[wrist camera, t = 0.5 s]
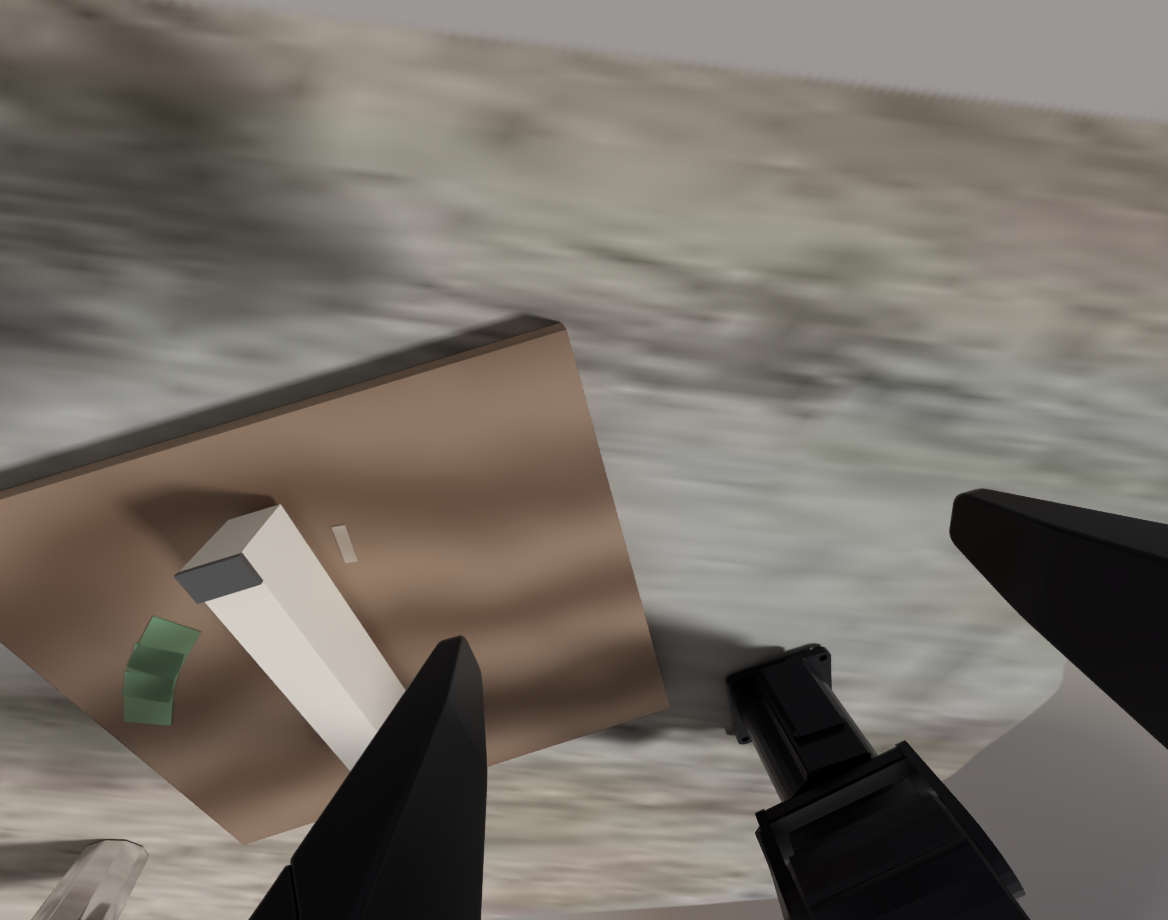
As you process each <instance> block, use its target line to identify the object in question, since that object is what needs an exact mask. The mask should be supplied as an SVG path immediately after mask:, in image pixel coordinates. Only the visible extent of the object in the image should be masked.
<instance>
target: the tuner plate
mask: <svg viewBox="0 0 1168 920" xmlns="http://www.w3.org/2000/svg"><path fill="white" fill-rule="evenodd" d="M279 504H281V506H282V507H283V509H284V510H285V512H286V513H287V514H288V516H289V517H290V519H291V520H292V522H293V523H294V525H295V526H296V528H297V529H298V531H299V532H300V534H301V535H302V537H303V538H304V540H305V541H306V543H307V544H308V546H309V547H310V549H311V550H312V552H313V553H314V555H315V556H316V558H317V559H318V561H319V562H320V564H321V565H322V567H323V568H324V570H325V571H326V573H327V574H328V576H329V577H330V579H331V580H332V582H333V583H334V585H335V586H336V588H337V589H338V591H339V592H340V593H341V595H342V596H343V598H344V599H345V601H346V602H347V604H348V605H349V607H350V608H351V610H352V611H353V613H354V614H355V616H356V617H357V619H358V620H359V622H360V623H361V625H362V626H363V628H364V629H365V631H366V632H367V634H368V635H369V637H370V638H371V640H372V641H373V643H374V644H375V646H376V647H377V649H378V650H379V652H380V653H381V655H382V656H383V658H384V659H385V661H386V662H387V664H388V665H389V667H390V668H391V670H392V671H393V673H394V674H395V675H396V677H397V678H398V680H399V681H400V683H401V684H402V686H403V687H404V689H405V690H406V689H407V687H408V686H409V685H410V683H411V682H412V680H413V679H414V677H415V676H416V674H417V673H418V671H419V670H420V668H421V667H422V665H423V664H424V663H425V661H426V660H427V658H428V657H429V655H430V654H431V652H432V651H433V649H434V648H435V646H436V645H437V644H438V643H439V642H440V641H441V640H444V639H447V638H451V637H455V636H458V635H462V636H464V637H465V638H466V639H467V641H468V643H469V645H470V648H471V650H472V652H473V654H474V656H475V658H476V660H477V662H478V665H479V667H480V670H481V674H482V683H483V700H484V717H485V734H486V751H487V767H488V766H491V765H494V764H497V763H500V762H504V761H507V760H510V759H513V758H516V757H519V756H522V755H525V754H529V753H532V752H535V751H538V750H541V749H544V748H547V747H550V746H553V745H557V744H560V743H563V742H566V741H569V740H572V739H575V738H578V737H582V736H585V735H588V734H591V733H594V732H597V731H600V730H603V729H607V728H610V727H613V726H616V725H619V724H622V723H625V722H628V721H631V720H635V719H638V718H641V717H644V716H647V715H650V714H653V713H656V712H660V711H663V710H666V709H669V708H670V705H669V702H668V698H667V694H666V691H665V687H664V683H663V680H662V676H661V672H660V669H659V665H658V661H657V658H656V654H655V651H654V647H653V643H652V640H651V636H650V632H649V629H648V625H647V621H646V618H645V614H644V610H643V607H642V603H641V600H640V596H639V592H638V589H637V585H636V581H635V578H634V574H633V570H632V567H631V563H630V559H629V556H628V552H627V548H626V545H625V541H624V538H623V534H622V530H621V527H620V523H619V519H618V516H617V512H616V508H615V505H614V501H613V497H612V494H611V490H610V487H609V483H608V479H607V476H606V472H605V468H604V465H603V461H602V457H601V454H600V450H599V446H598V443H597V439H596V436H595V432H594V428H593V425H592V421H591V417H590V414H589V410H588V406H587V403H586V399H585V395H584V392H583V388H582V385H581V381H580V377H579V374H578V370H577V366H576V363H575V359H574V355H573V352H572V348H571V344H570V341H569V337H568V334H567V330H566V328H565V327H564V325H563V323H562V322H561V323H558V324H554V325H551V326H548V327H544V328H541V329H538V330H534V331H531V332H528V333H524V334H521V335H518V336H514V337H511V338H508V339H504V340H501V341H498V342H494V343H491V344H488V345H484V346H481V347H478V348H474V349H471V350H468V351H465V352H461V353H458V354H455V355H451V356H448V357H445V358H441V359H438V360H435V361H431V362H428V363H425V364H421V365H418V366H415V367H411V368H408V369H405V370H401V371H398V372H395V373H391V374H388V375H385V376H381V377H378V378H375V379H371V380H368V381H365V382H361V383H358V384H355V385H351V386H348V387H345V388H341V389H338V390H335V391H331V392H328V393H325V394H321V395H318V396H315V397H311V398H308V399H305V400H301V401H298V402H295V403H291V404H288V405H285V406H281V407H278V408H275V409H271V410H268V411H265V412H261V413H258V414H255V415H251V416H248V417H245V418H241V419H238V420H235V421H231V422H228V423H225V424H221V425H218V426H215V427H211V428H208V429H205V430H201V431H198V432H195V433H191V434H188V435H185V436H181V437H178V438H175V439H171V440H168V441H165V442H161V443H158V444H155V445H151V446H148V447H145V448H141V449H138V450H135V451H131V452H128V453H125V454H121V455H118V456H115V457H111V458H108V459H105V460H101V461H98V462H95V463H91V464H88V465H85V466H81V467H78V468H75V469H71V470H68V471H65V472H61V473H58V474H55V475H51V476H48V477H45V478H41V479H38V480H35V481H32V482H28V483H25V484H22V485H18V486H15V487H12V488H8V489H5V490H2V491H0V642H1V643H2V644H3V645H4V646H6V647H7V648H8V649H9V650H10V651H12V652H13V653H14V654H15V655H16V656H18V657H19V658H20V659H21V660H22V661H24V662H25V663H26V664H27V665H28V666H30V667H31V668H32V669H33V670H34V671H36V672H37V673H38V674H39V675H40V676H42V677H43V678H44V679H45V680H46V681H48V682H49V683H50V684H51V685H52V686H54V687H55V688H56V689H57V690H58V691H60V692H61V693H62V694H63V695H64V696H66V697H67V698H68V699H69V700H70V701H72V702H73V703H74V704H75V705H76V706H78V707H79V708H80V709H81V710H82V711H84V712H85V713H86V714H87V715H88V716H90V717H91V718H92V719H93V720H94V721H96V722H97V723H98V724H99V725H100V726H102V727H103V728H104V729H105V730H106V731H108V732H109V733H110V734H111V735H112V736H114V737H115V738H116V739H117V740H118V741H120V742H121V743H122V744H123V745H124V746H126V747H127V748H128V749H129V750H130V751H132V752H133V753H134V754H135V755H136V756H138V757H139V758H140V759H141V760H142V761H144V762H145V763H146V764H147V765H148V766H150V767H151V768H152V769H153V770H154V771H156V772H157V773H158V774H159V775H160V776H162V777H163V778H164V779H165V780H166V781H168V782H169V783H170V784H171V785H172V786H174V787H175V788H176V789H177V790H178V791H180V792H181V793H182V794H183V795H184V796H186V797H187V798H188V799H189V800H190V801H192V802H193V803H194V804H195V805H196V806H198V807H199V808H200V809H201V810H202V811H204V812H205V813H206V814H207V815H208V816H210V817H211V818H212V819H213V820H214V821H216V822H217V823H218V824H219V825H220V826H222V827H223V828H224V829H225V830H226V831H228V832H229V833H230V834H231V835H232V836H234V837H235V838H236V839H237V840H238V841H240V842H241V843H242V844H243V845H245V844H248V843H251V842H254V841H257V840H260V839H263V838H266V837H270V836H273V835H276V834H279V833H282V832H285V831H288V830H291V829H295V828H298V827H301V826H304V825H307V824H310V823H313V822H316V821H317V819H318V818H319V816H320V815H321V814H322V812H323V811H324V809H325V808H326V806H327V805H328V803H329V802H330V800H331V799H332V797H333V796H334V794H335V793H336V792H337V790H338V789H339V787H340V786H341V784H342V783H343V781H344V780H345V778H346V777H347V775H348V774H349V772H350V770H349V769H348V768H347V767H346V766H345V764H344V763H343V762H342V761H341V760H340V759H339V757H338V756H337V755H336V754H335V753H334V752H333V751H332V749H331V748H330V747H329V746H328V745H327V744H326V742H325V741H324V740H323V739H322V738H321V737H320V735H319V734H318V733H317V732H316V731H315V730H314V728H313V727H312V726H311V725H310V724H309V723H308V721H307V720H306V719H305V718H304V717H303V716H302V715H301V713H300V712H299V711H298V710H297V709H296V708H295V706H294V705H293V704H292V703H291V702H290V701H289V699H288V698H287V697H286V696H285V695H284V694H283V692H282V691H281V690H280V689H279V688H278V687H277V685H276V684H275V683H274V682H273V681H272V680H271V679H270V677H269V676H268V675H267V674H266V673H265V672H264V670H263V669H262V668H261V667H260V666H259V665H258V663H257V662H256V661H255V660H254V659H253V658H252V656H251V655H250V654H249V653H248V652H247V651H246V649H245V648H244V647H243V646H242V645H241V644H240V643H239V641H238V640H237V639H236V638H235V637H234V636H233V634H232V633H231V632H230V631H229V630H228V629H227V627H226V626H225V625H224V624H223V623H222V622H221V620H220V619H219V618H218V617H217V616H216V615H215V613H214V612H213V611H212V610H211V609H210V608H209V607H208V605H207V604H206V603H205V602H203V603H200V604H197V603H196V602H195V601H194V600H193V599H192V597H191V596H190V595H189V594H188V593H187V592H186V591H185V589H184V588H183V587H182V586H181V585H180V584H179V583H178V581H177V580H176V579H175V578H174V577H173V576H174V575H175V574H176V573H177V572H179V571H180V570H181V569H182V568H183V567H184V566H185V565H186V564H187V563H188V562H189V561H190V560H191V559H192V558H193V556H194V555H195V554H196V553H197V552H198V551H199V550H200V549H201V548H202V547H203V546H204V545H205V544H206V543H207V542H208V541H209V540H210V539H211V538H212V537H213V535H214V534H215V533H216V532H217V531H218V530H219V529H220V528H221V527H222V526H223V525H224V524H225V523H226V522H227V521H228V520H230V519H233V518H237V517H240V516H243V515H246V514H250V513H253V512H256V511H260V510H263V509H266V508H269V507H273V506H276V505H279Z"/></svg>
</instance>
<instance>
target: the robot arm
mask: <svg viewBox="0 0 1168 920" xmlns="http://www.w3.org/2000/svg"><path fill="white" fill-rule="evenodd" d="M949 533H950V537H951V540H952V542H953V543H954V545H955V546H956V547H957V548H958V549H959V550H960V551H961V552H962V554H963V555H964V556H965V557H966V558H967V559H968V560H969V561H970V562H971V563H972V564H973V565H974V566H975V568H976V569H977V570H978V571H979V572H980V573H981V574H982V575H983V576H984V577H985V578H986V579H987V581H988V582H989V583H990V584H991V585H992V586H993V587H994V588H995V589H996V590H997V591H998V592H999V593H1000V595H1001V596H1002V597H1003V598H1004V599H1005V600H1006V601H1007V602H1008V603H1009V604H1010V605H1011V606H1012V607H1013V608H1014V609H1015V610H1016V611H1017V612H1018V614H1019V615H1020V616H1022V617H1023V618H1024V619H1025V620H1026V621H1027V622H1028V623H1029V624H1030V625H1031V626H1032V627H1033V628H1034V629H1035V630H1036V631H1038V632H1039V633H1040V634H1041V635H1042V636H1043V637H1044V638H1045V639H1046V640H1047V641H1049V642H1050V643H1051V644H1052V645H1053V646H1054V647H1055V648H1056V649H1057V650H1058V651H1060V652H1061V653H1062V654H1063V655H1064V656H1065V657H1066V658H1067V659H1068V660H1069V661H1071V662H1072V663H1073V664H1074V665H1075V666H1076V667H1077V668H1079V670H1080V671H1082V672H1083V673H1084V674H1085V675H1086V676H1087V677H1088V678H1089V679H1090V680H1091V681H1093V682H1094V683H1095V684H1096V685H1097V686H1098V687H1099V688H1100V689H1101V690H1102V691H1104V692H1105V693H1106V694H1107V695H1108V696H1109V697H1110V698H1111V699H1112V700H1113V701H1115V702H1116V703H1117V704H1118V705H1119V706H1120V707H1121V708H1122V709H1123V710H1125V711H1126V712H1127V713H1128V714H1129V715H1130V716H1131V717H1132V718H1133V719H1134V720H1136V721H1137V722H1138V723H1139V724H1140V725H1141V726H1142V727H1143V728H1144V729H1145V730H1146V731H1148V732H1149V733H1150V734H1151V735H1152V736H1153V737H1154V738H1155V739H1156V740H1158V741H1159V742H1160V743H1161V744H1162V745H1163V746H1164V747H1165V748H1166V749H1167V750H1168V524H1163V523H1158V522H1153V521H1148V520H1143V519H1137V518H1132V517H1127V516H1122V515H1117V514H1112V513H1107V512H1102V511H1097V510H1091V509H1086V508H1081V507H1076V506H1071V505H1066V504H1061V503H1056V502H1051V501H1046V500H1040V499H1035V498H1030V497H1025V496H1020V495H1015V494H1010V493H1005V492H1000V491H995V490H989V489H975V490H972V491H968V492H964V493H961V494H959V495H957V496H956V498H955V499H954V502H953V508H952V515H951V522H950V529H949ZM726 687H727V692H728V698H729V703H730V709H731V714H732V720H733V725H734V731H735V736H736V738H737V741H738V743H739V744H747V743H750V742H753V744H754V746H755V748H756V750H757V753H758V755H759V757H760V759H761V761H762V763H763V765H764V767H765V769H766V771H767V773H768V775H769V777H770V779H771V781H772V783H773V785H774V787H775V789H776V791H777V793H778V796H779V798H780V800H781V803H779V804H777V805H775V806H773V807H771V808H769V809H767V810H765V809H762V810H760V811H758V812H756V813H755V815H756V818H757V821H758V823H759V828H758V829H757V831H756V832H755V834H756V837H757V839H758V842H759V844H760V846H761V849H762V851H763V854H764V856H765V858H766V861H767V863H768V866H769V869H770V872H771V875H772V878H773V882H774V885H775V889H776V892H777V896H778V899H779V903H780V907H781V910H782V914H783V917H784V920H1030V919H1029V917H1028V916H1027V915H1026V913H1025V912H1024V911H1023V909H1022V908H1021V907H1020V905H1019V904H1018V902H1017V901H1016V900H1019V899H1021V898H1023V897H1025V895H1026V894H1025V892H1024V889H1023V888H1022V886H1021V884H1020V882H1019V880H1018V879H1017V877H1016V876H1015V874H1014V873H1013V871H1012V869H1011V868H1010V866H1009V865H1008V864H1007V862H1006V860H1005V859H1004V858H1003V856H1002V855H1001V853H1000V852H999V851H998V849H997V848H996V846H995V845H994V844H993V842H992V841H991V840H990V839H989V837H988V836H987V835H986V833H985V832H984V831H983V829H982V828H981V827H980V826H979V824H978V823H977V822H976V821H975V820H974V818H973V817H972V816H971V815H970V814H969V812H968V811H967V810H966V809H965V808H964V807H963V805H962V804H961V803H960V802H959V801H958V800H957V799H956V797H955V796H954V795H953V794H952V793H951V792H950V791H949V789H948V788H947V787H946V786H945V785H944V784H943V783H942V782H941V780H940V779H939V778H938V777H937V776H936V775H935V774H934V772H933V771H932V770H931V769H930V768H929V767H928V766H927V764H926V763H925V762H924V761H923V760H922V759H921V758H920V757H919V755H918V754H917V753H916V752H915V751H914V750H913V749H912V747H911V746H910V745H909V744H908V743H907V742H906V741H905V740H904V741H902V742H900V743H897V744H895V746H896V747H894V748H892V749H890V750H888V751H886V752H884V753H882V754H880V755H878V754H877V753H876V751H875V750H874V748H873V747H872V746H871V744H870V743H869V741H868V740H867V739H866V737H865V736H864V735H863V733H862V732H861V730H860V729H859V728H858V726H857V725H856V723H855V722H854V721H853V719H852V718H851V716H850V715H849V714H848V712H847V711H846V709H845V708H844V707H843V705H842V704H841V702H840V701H839V700H838V698H837V697H836V695H835V694H834V693H833V691H832V684H831V654H830V653H829V651H828V650H827V649H826V648H825V647H818V648H815V649H812V650H809V651H806V652H803V653H799V654H796V655H793V656H790V657H787V658H784V659H781V660H778V661H774V662H771V663H768V664H765V665H762V666H759V667H756V668H753V669H749V670H746V671H743V672H740V673H737V674H734V675H731V676H729V677H728V678H727V680H726ZM486 798H487V751H486V734H485V717H484V700H483V683H482V674H481V670H480V667H479V665H478V662H477V660H476V658H475V656H474V654H473V652H472V650H471V648H470V645H469V643H468V641H467V639H466V638H465V637H464V636H462V635H458V636H455V637H451V638H447V639H444V640H441V641H440V642H439V643H438V644H437V645H436V646H435V648H434V649H433V651H432V652H431V654H430V655H429V657H428V658H427V660H426V661H425V663H424V664H423V665H422V667H421V668H420V670H419V671H418V673H417V674H416V676H415V677H414V679H413V680H412V682H411V683H410V685H409V686H408V687H407V689H406V690H405V692H404V693H403V695H402V696H401V698H400V699H399V701H398V702H397V704H396V705H395V707H394V708H393V709H392V711H391V712H390V714H389V715H388V717H387V718H386V720H385V721H384V723H383V724H382V726H381V727H380V729H379V730H378V731H377V733H376V734H375V736H374V737H373V739H372V740H371V742H370V743H369V745H368V746H367V748H366V749H365V750H364V752H363V753H362V755H361V756H360V758H359V759H358V761H357V762H356V764H355V765H354V767H353V768H352V770H351V771H350V772H349V774H348V775H347V777H346V778H345V780H344V781H343V783H342V784H341V786H340V787H339V789H338V790H337V792H336V793H335V794H334V796H333V797H332V799H331V800H330V802H329V803H328V805H327V806H326V808H325V809H324V811H323V812H322V814H321V815H320V816H319V818H318V819H317V821H316V822H315V824H314V825H313V827H312V828H311V830H310V831H309V833H308V834H307V836H306V837H305V838H304V840H303V841H302V843H301V844H300V846H299V847H298V849H297V850H296V852H295V853H294V855H293V856H292V858H291V860H290V864H291V865H287V866H285V867H284V869H283V870H282V872H281V873H280V875H279V876H278V878H277V879H276V881H275V882H274V884H273V885H272V886H271V888H270V889H269V891H268V892H267V894H266V895H265V897H264V898H263V900H262V901H261V902H260V904H259V905H258V907H257V908H256V910H255V911H254V912H253V914H252V915H251V917H250V918H249V919H248V920H481V905H482V884H483V863H484V841H485V820H486Z"/></svg>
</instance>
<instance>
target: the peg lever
mask: <svg viewBox="0 0 1168 920" xmlns="http://www.w3.org/2000/svg"><path fill="white" fill-rule="evenodd" d="M173 577H174V578H175V579H176V580H177V581H178V583H179V584H180V585H181V586H182V587H183V588H184V589H185V591H186V592H187V593H188V594H189V595H190V596H191V597H192V599H193V600H194V601H195V602H196V603H197V604H200V603H203V602H205V603H206V604H207V605H208V607H209V608H210V609H211V610H212V611H213V612H214V613H215V615H216V616H217V617H218V618H219V619H220V620H221V622H222V623H223V624H224V625H225V626H226V627H227V629H228V630H229V631H230V632H231V633H232V634H233V636H234V637H235V638H236V639H237V640H238V641H239V643H240V644H241V645H242V646H243V647H244V648H245V649H246V651H247V652H248V653H249V654H250V655H251V656H252V658H253V659H254V660H255V661H256V662H257V663H258V665H259V666H260V667H261V668H262V669H263V670H264V672H265V673H266V674H267V675H268V676H269V677H270V679H271V680H272V681H273V682H274V683H275V684H276V685H277V687H278V688H279V689H280V690H281V691H282V692H283V694H284V695H285V696H286V697H287V698H288V699H289V701H290V702H291V703H292V704H293V705H294V706H295V708H296V709H297V710H298V711H299V712H300V713H301V715H302V716H303V717H304V718H305V719H306V720H307V721H308V723H309V724H310V725H311V726H312V727H313V728H314V730H315V731H316V732H317V733H318V734H319V735H320V737H321V738H322V739H323V740H324V741H325V742H326V744H327V745H328V746H329V747H330V748H331V749H332V751H333V752H334V753H335V754H336V755H337V756H338V757H339V759H340V760H341V761H342V762H343V763H344V764H345V766H346V767H347V768H348V769H349V770H350V771H351V770H352V768H353V767H354V765H355V764H356V762H357V761H358V759H359V758H360V756H361V755H362V753H363V752H364V750H365V749H366V748H367V746H368V745H369V743H370V742H371V740H372V739H373V737H374V736H375V734H376V733H377V731H378V730H379V729H380V727H381V726H382V724H383V723H384V721H385V720H386V718H387V717H388V715H389V714H390V712H391V711H392V709H393V708H394V707H395V705H396V704H397V702H398V701H399V699H400V698H401V696H402V695H403V693H404V692H405V689H404V687H403V686H402V684H401V683H400V681H399V680H398V678H397V677H396V675H395V674H394V673H393V671H392V670H391V668H390V667H389V665H388V664H387V662H386V661H385V659H384V658H383V656H382V655H381V653H380V652H379V650H378V649H377V647H376V646H375V644H374V643H373V641H372V640H371V638H370V637H369V635H368V634H367V632H366V631H365V629H364V628H363V626H362V625H361V623H360V622H359V620H358V619H357V617H356V616H355V614H354V613H353V611H352V610H351V608H350V607H349V605H348V604H347V602H346V601H345V599H344V598H343V596H342V595H341V593H340V592H339V591H338V589H337V588H336V586H335V585H334V583H333V582H332V580H331V579H330V577H329V576H328V574H327V573H326V571H325V570H324V568H323V567H322V565H321V564H320V562H319V561H318V559H317V558H316V556H315V555H314V553H313V552H312V550H311V549H310V547H309V546H308V544H307V543H306V541H305V540H304V538H303V537H302V535H301V534H300V532H299V531H298V529H297V528H296V526H295V525H294V523H293V522H292V520H291V519H290V517H289V516H288V514H287V513H286V512H285V510H284V509H283V507H282V506H281V504H279V505H276V506H273V507H269V508H266V509H263V510H260V511H256V512H253V513H250V514H246V515H243V516H240V517H237V518H233V519H230V520H228V521H227V522H226V523H225V524H224V525H223V526H222V527H221V528H220V529H219V530H218V531H217V532H216V533H215V534H214V535H213V537H212V538H211V539H210V540H209V541H208V542H207V543H206V544H205V545H204V546H203V547H202V548H201V549H200V550H199V551H198V552H197V553H196V554H195V555H194V556H193V558H192V559H191V560H190V561H189V562H188V563H187V564H186V565H185V566H184V567H183V568H182V569H181V570H180V571H179V572H177V573H176V574H175V575H174V576H173Z"/></svg>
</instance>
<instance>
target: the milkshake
mask: <svg viewBox="0 0 1168 920" xmlns="http://www.w3.org/2000/svg"><path fill="white" fill-rule="evenodd" d="M148 858H149V856H148V855H147V853H146V852H145V850H144V848H143V847H141V846H139V845H136V844H133V843H131V842H128V841H116V840H104V841H101V842H98V843H95V844H92V845H88V846H87V847H86V848H85V849H84V850H83V852H82V853H81V854H80V855H79V857H78V858H77V859H76V861H75V862H74V863H73V865H72V866H71V867H70V869H69V870H68V871H67V873H66V874H65V875H64V877H63V878H62V879H61V881H60V882H59V883H58V885H57V886H56V887H55V889H54V890H53V891H52V892H51V894H50V895H49V896H48V898H47V899H46V900H45V902H44V903H43V904H42V906H41V907H40V908H39V910H38V911H37V912H36V914H35V915H34V916H33V918H32V919H31V920H118V919H119V917H120V915H121V913H122V911H123V909H124V907H125V905H126V903H127V901H128V899H129V897H130V895H131V893H132V891H133V889H134V886H135V884H136V882H137V880H138V878H139V876H140V874H141V872H142V870H143V868H144V866H145V864H146V862H147V860H148Z"/></svg>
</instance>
